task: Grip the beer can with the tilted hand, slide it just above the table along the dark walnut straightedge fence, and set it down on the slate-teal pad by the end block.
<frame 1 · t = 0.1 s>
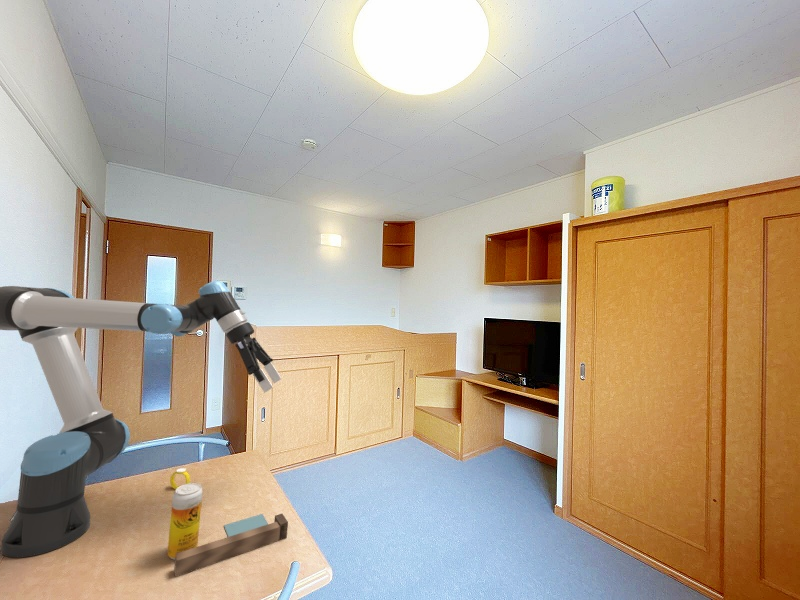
hand: (273, 385, 105), 36 cm above the table, tool tilted 35°, fingers open, 13 cm apart
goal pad: (247, 529, 90), on the table
watch: (179, 489, 108), on the table
straightedge: (233, 552, 81), on the table
beer can: (182, 553, 80), on the table
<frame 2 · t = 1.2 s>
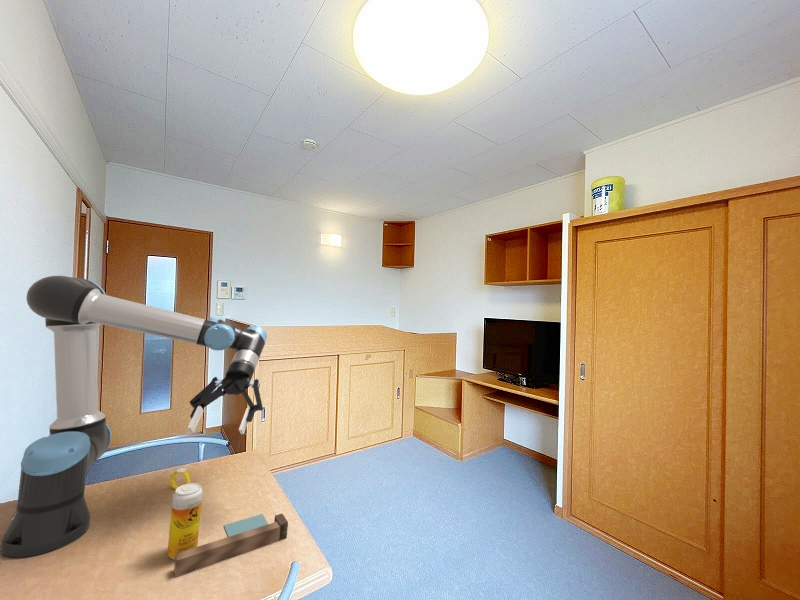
hand: (215, 431, 93), 25 cm above the table, tool tilted 45°, fingers open, 13 cm apart
nothing on the table moved.
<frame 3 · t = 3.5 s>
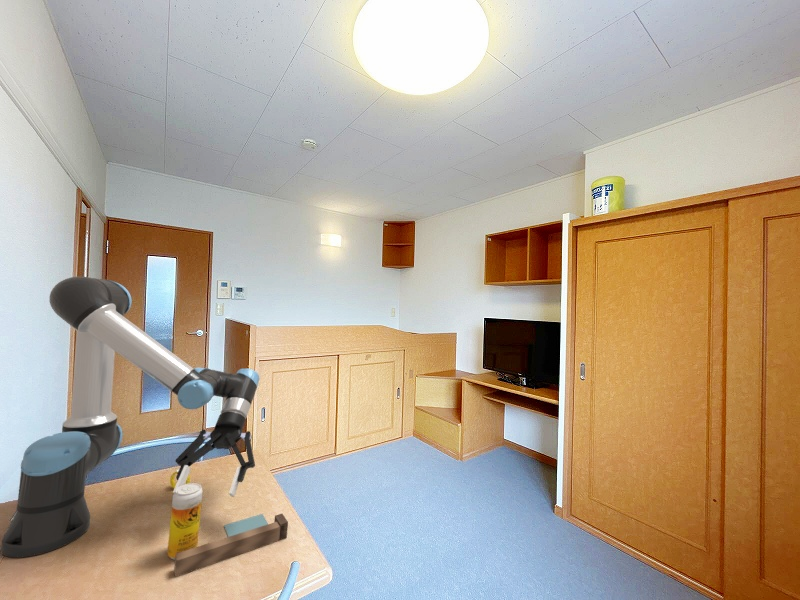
hand: (204, 494, 86), 11 cm above the table, tool tilted 45°, fingers open, 13 cm apart
nothing on the table moved.
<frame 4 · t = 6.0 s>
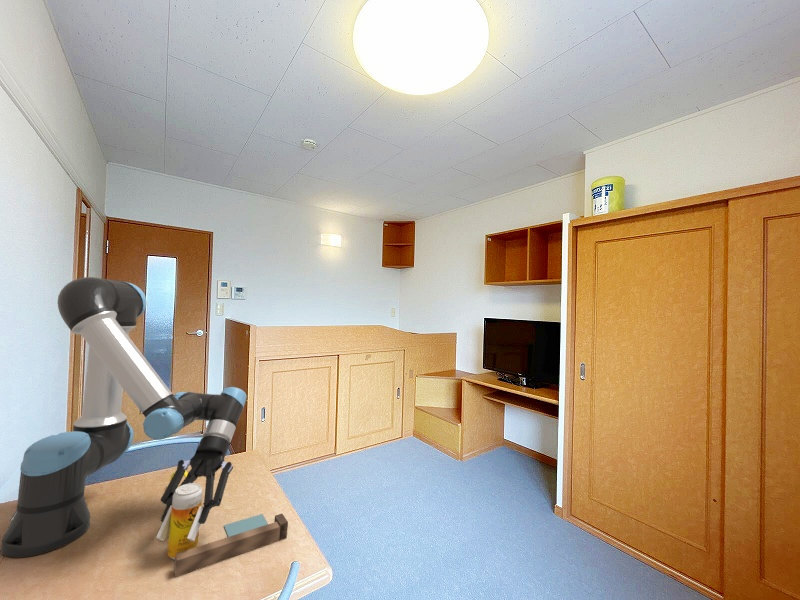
hand: (175, 539, 77), 5 cm above the table, tool tilted 45°, fingers closed on beer can, 6 cm apart
beer can: (182, 553, 80), on the table, touching gripper
everything else where it was.
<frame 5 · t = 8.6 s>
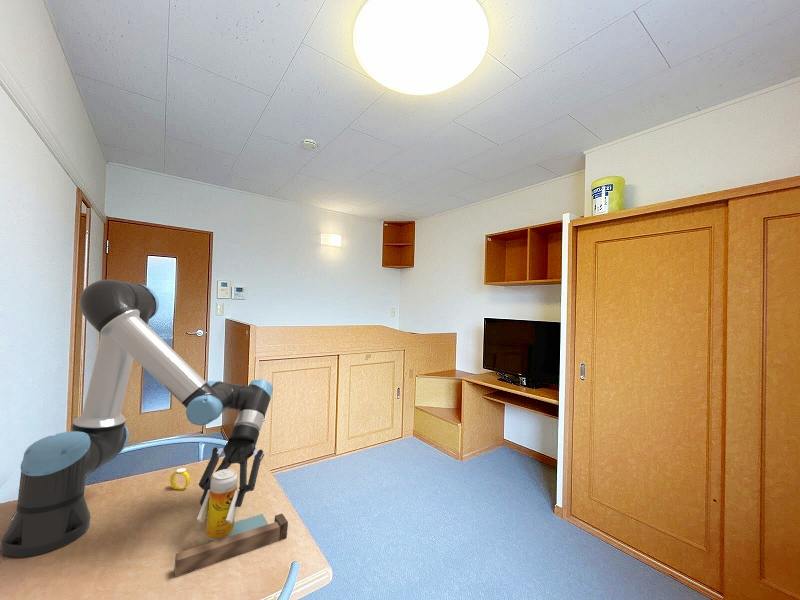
hand: (214, 521, 81), 7 cm above the table, tool tilted 45°, fingers closed on beer can, 6 cm apart
beer can: (219, 534, 85), point 2 cm above the table, touching gripper
everything else where it was.
when the fingers open (6 cm above the table, at t = 11.3 s): beer can stays where it is, resting on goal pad.
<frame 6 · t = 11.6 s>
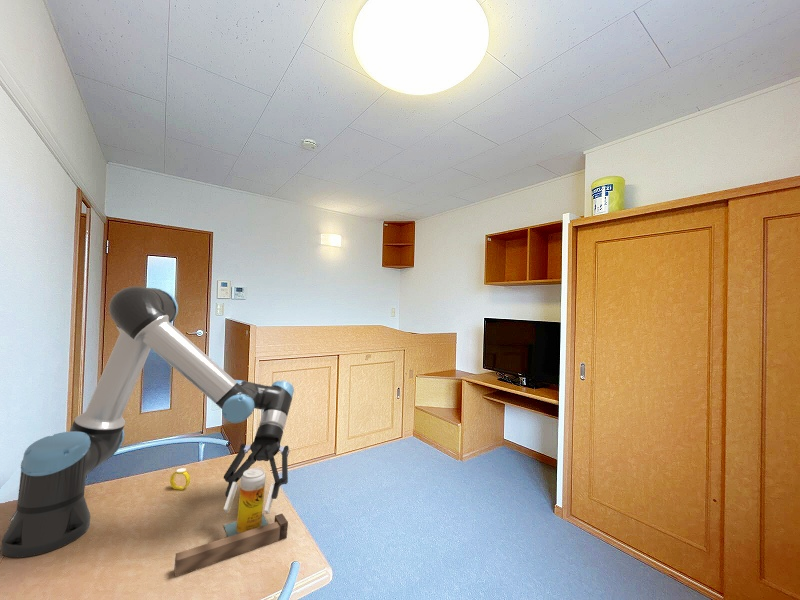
hand: (246, 511, 87), 7 cm above the table, tool tilted 45°, fingers open, 9 cm apart
beer can: (248, 530, 90), resting on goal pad
everything else where it was.
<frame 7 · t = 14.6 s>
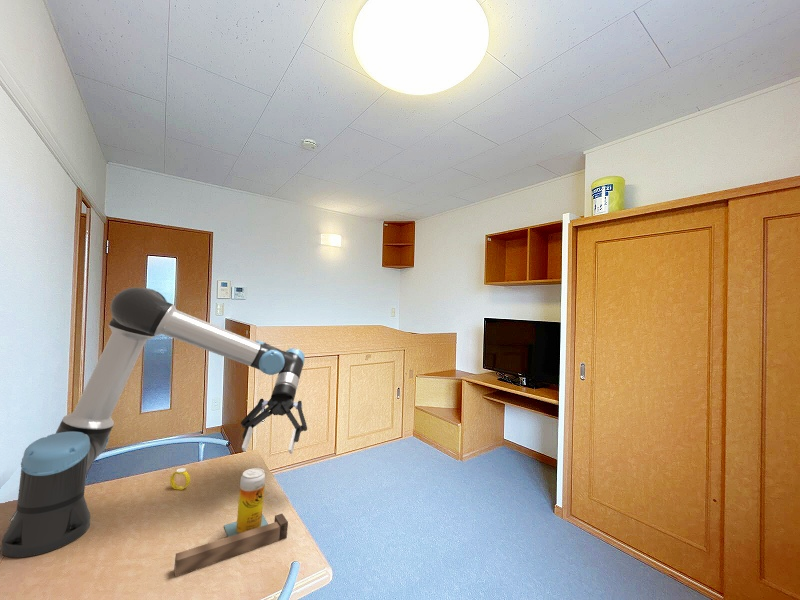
hand: (267, 450, 100), 17 cm above the table, tool tilted 45°, fingers open, 13 cm apart
nothing on the table moved.
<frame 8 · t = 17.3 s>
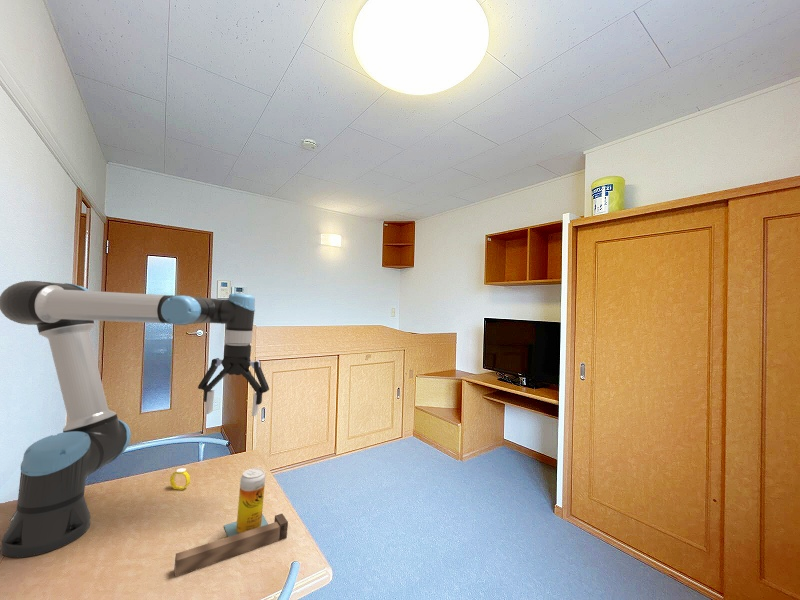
hand: (231, 413, 102), 27 cm above the table, tool pointing down, fingers open, 13 cm apart
nothing on the table moved.
at the end: beer can inside the target area (0.1 cm from its centre), resting on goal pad; beer can tilted 0°; the gripper is holding nothing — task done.
